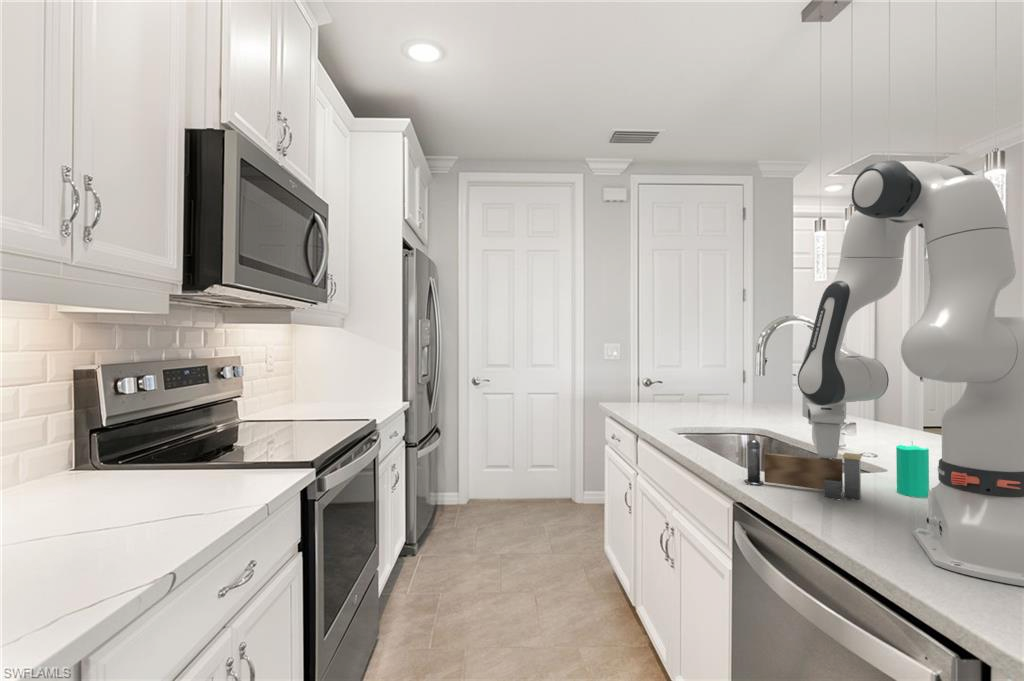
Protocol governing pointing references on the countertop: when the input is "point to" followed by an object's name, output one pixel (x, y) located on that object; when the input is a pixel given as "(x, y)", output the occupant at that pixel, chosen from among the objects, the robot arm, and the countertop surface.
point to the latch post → (846, 479)
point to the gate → (801, 470)
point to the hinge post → (753, 463)
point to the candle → (912, 470)
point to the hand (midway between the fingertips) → (823, 469)
